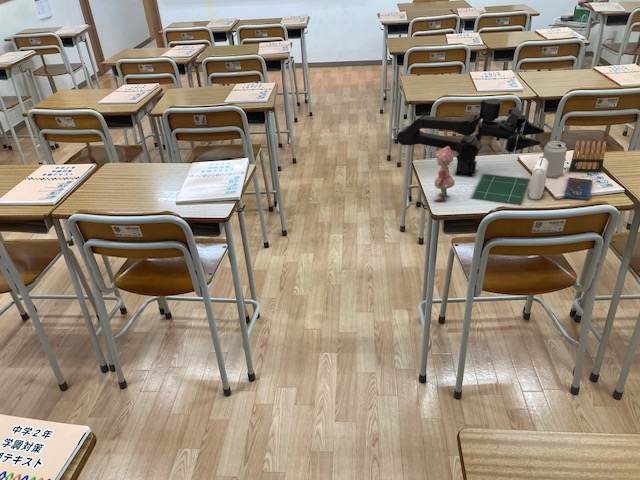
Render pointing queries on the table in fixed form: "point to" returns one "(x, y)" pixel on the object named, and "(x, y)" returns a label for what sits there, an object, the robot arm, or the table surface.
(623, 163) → the table surface
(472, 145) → the robot arm
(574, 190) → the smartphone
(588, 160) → the ammunition clip
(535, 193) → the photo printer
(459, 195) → the table surface
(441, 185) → the cartoon character
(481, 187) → the cutting mat
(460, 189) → the table surface
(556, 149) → the can
